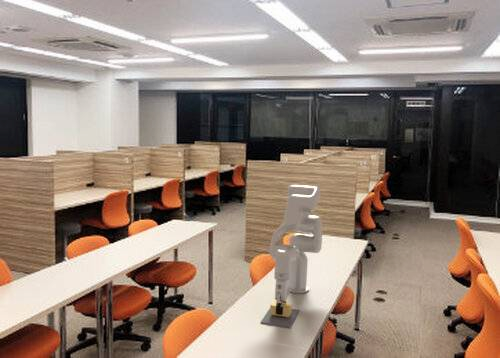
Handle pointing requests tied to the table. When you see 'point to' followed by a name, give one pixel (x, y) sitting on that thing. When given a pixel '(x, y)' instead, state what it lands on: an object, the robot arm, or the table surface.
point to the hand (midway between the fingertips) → (280, 311)
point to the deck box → (286, 309)
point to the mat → (280, 319)
